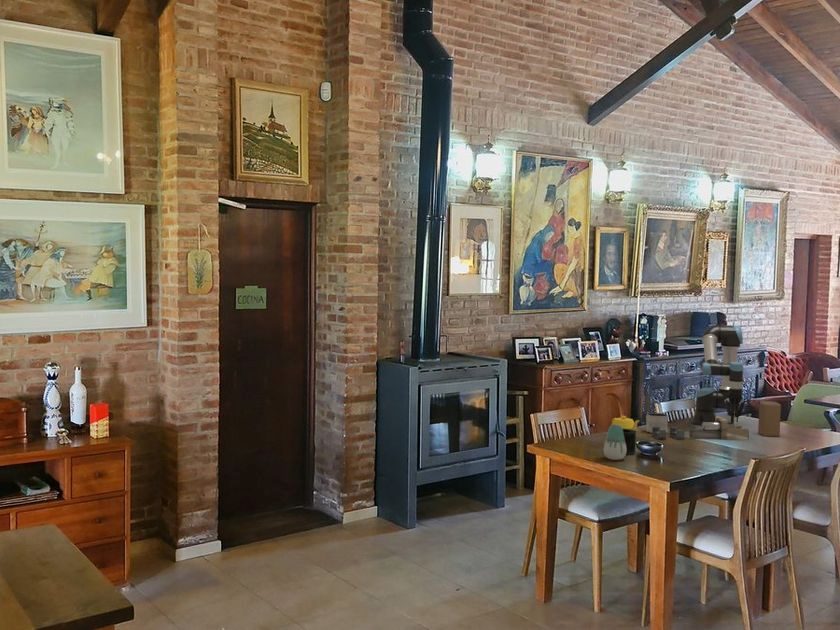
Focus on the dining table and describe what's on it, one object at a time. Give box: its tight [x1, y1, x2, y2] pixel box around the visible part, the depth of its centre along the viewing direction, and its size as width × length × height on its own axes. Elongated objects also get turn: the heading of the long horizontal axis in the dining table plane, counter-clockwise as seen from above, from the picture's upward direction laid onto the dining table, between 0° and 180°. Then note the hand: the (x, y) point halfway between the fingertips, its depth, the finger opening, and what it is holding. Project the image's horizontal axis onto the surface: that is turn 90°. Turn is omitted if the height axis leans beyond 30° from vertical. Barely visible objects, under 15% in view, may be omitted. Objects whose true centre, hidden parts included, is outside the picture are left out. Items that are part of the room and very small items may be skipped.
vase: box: [603, 423, 627, 461], centre depth 417 cm, size 12×12×18 cm
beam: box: [688, 416, 750, 441], centre depth 479 cm, size 9×35×12 cm, turn 96°
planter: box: [645, 412, 669, 434], centre depth 493 cm, size 13×13×11 cm
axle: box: [701, 421, 735, 431], centre depth 479 cm, size 18×5×5 cm, turn 96°
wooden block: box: [757, 400, 782, 438], centre depth 492 cm, size 10×10×20 cm
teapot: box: [611, 415, 640, 431], centre depth 473 cm, size 14×20×13 cm
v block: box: [651, 426, 685, 441], centre depth 476 cm, size 11×15×6 cm
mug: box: [623, 429, 638, 455], centre depth 434 cm, size 11×15×12 cm
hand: (733, 427), depth 480 cm, fingers closed
